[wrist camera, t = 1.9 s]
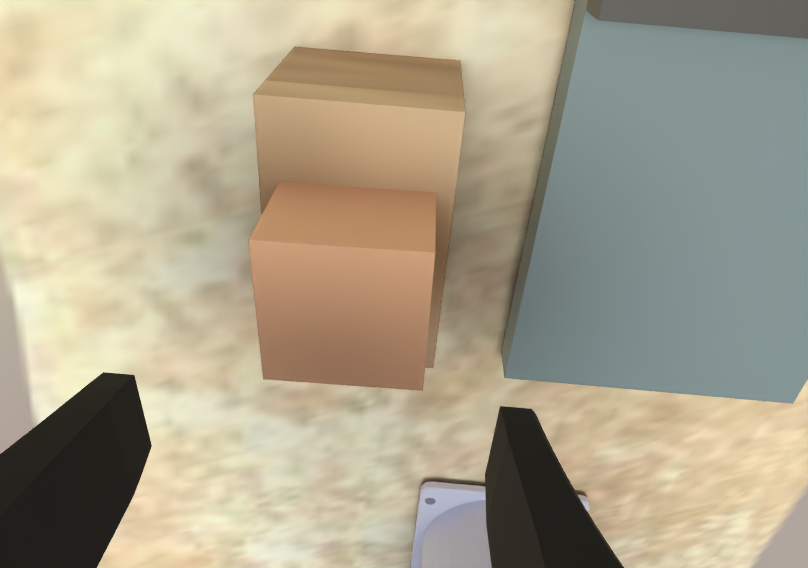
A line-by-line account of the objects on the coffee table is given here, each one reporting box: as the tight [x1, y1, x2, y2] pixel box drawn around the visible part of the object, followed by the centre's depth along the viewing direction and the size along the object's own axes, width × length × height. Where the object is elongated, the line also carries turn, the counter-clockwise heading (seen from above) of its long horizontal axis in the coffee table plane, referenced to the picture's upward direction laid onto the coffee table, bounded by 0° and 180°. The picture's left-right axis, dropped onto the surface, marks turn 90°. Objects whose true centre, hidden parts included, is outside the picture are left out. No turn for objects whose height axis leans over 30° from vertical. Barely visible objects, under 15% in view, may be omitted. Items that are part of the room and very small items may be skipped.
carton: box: [248, 182, 436, 391], centre depth 15 cm, size 4×4×3 cm
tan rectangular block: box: [253, 47, 465, 368], centre depth 19 cm, size 8×5×5 cm, turn 176°
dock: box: [501, 0, 808, 404], centre depth 19 cm, size 14×11×3 cm
